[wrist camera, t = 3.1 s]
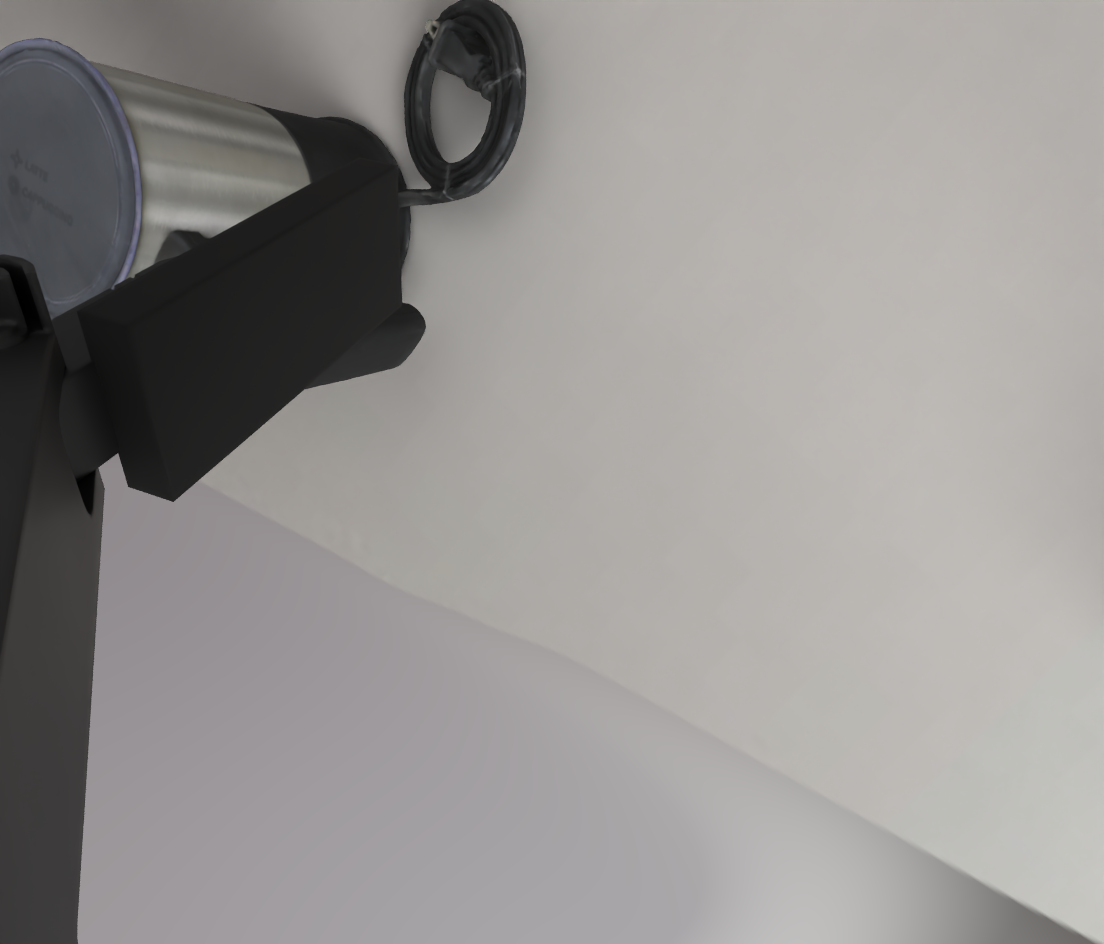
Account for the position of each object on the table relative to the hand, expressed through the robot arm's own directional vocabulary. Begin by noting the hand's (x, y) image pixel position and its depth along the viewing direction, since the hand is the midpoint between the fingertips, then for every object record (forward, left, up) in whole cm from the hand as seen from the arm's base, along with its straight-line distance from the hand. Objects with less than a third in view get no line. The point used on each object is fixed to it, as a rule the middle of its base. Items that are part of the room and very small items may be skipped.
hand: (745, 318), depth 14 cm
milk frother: (-18, -12, -20) cm, 30 cm away
